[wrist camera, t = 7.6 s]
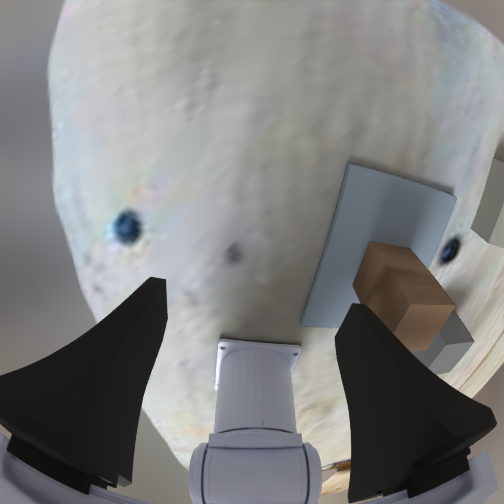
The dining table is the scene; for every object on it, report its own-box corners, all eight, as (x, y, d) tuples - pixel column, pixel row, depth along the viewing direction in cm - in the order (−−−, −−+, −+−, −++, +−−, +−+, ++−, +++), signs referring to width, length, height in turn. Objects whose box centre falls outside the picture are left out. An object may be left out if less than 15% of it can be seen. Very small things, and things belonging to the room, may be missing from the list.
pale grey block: (490, 234, 19) (507, 249, 16) (469, 227, 19) (488, 243, 16) (511, 170, 15) (531, 181, 13) (491, 157, 15) (513, 167, 13)
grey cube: (434, 341, 26) (449, 371, 22) (404, 343, 26) (420, 377, 22) (454, 310, 24) (474, 341, 19) (425, 310, 23) (446, 344, 19)
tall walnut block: (392, 288, 21) (425, 349, 15) (352, 285, 21) (380, 352, 15) (410, 248, 19) (455, 305, 13) (369, 241, 19) (410, 303, 13)
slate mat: (393, 325, 24) (395, 329, 23) (300, 321, 23) (301, 326, 23) (452, 195, 17) (457, 197, 16) (347, 162, 16) (350, 164, 16)
